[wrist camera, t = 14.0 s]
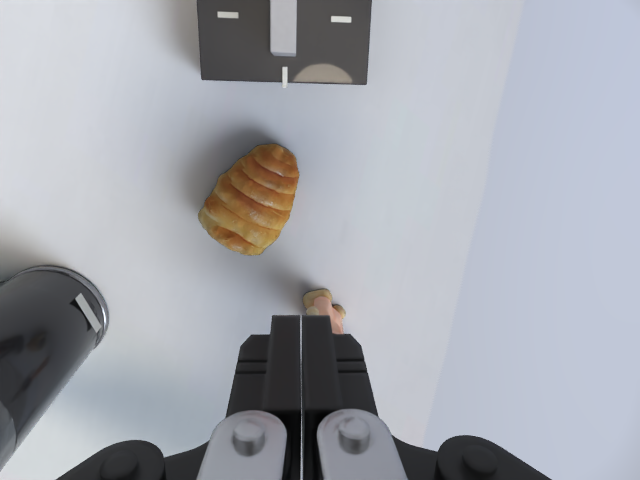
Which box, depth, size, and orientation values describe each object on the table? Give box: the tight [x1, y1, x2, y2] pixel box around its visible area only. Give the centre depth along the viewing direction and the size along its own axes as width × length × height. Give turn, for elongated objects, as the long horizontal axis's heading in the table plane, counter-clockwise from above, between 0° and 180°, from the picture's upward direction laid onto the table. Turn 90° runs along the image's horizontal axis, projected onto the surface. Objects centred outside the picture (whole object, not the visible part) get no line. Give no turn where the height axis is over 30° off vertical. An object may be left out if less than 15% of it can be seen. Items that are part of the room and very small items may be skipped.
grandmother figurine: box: [303, 289, 346, 334], centre depth 36 cm, size 8×4×13 cm, turn 45°
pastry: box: [198, 144, 299, 255], centre depth 36 cm, size 9×7×4 cm
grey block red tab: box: [270, 0, 297, 57], centre depth 28 cm, size 5×2×4 cm, turn 178°
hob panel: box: [197, 0, 372, 88], centre depth 32 cm, size 12×9×3 cm
